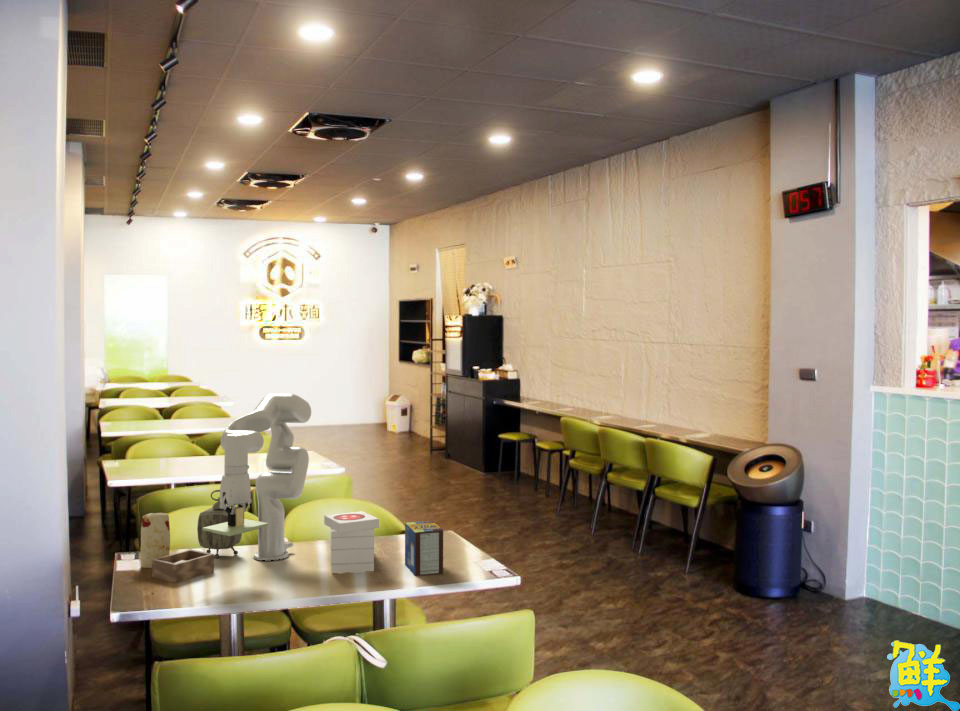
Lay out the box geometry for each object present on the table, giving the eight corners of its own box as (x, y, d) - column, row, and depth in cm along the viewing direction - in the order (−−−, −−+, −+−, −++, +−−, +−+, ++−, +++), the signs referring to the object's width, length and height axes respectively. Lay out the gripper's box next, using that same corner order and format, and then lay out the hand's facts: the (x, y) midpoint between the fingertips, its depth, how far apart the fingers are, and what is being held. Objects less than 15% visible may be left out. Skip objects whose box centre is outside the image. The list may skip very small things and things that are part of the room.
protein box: (432, 562, 303) (432, 520, 303) (443, 573, 289) (443, 529, 289) (404, 564, 300) (404, 522, 300) (414, 576, 286) (414, 531, 285)
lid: (241, 523, 289) (241, 501, 289) (268, 528, 282) (268, 505, 282) (202, 533, 274) (202, 509, 274) (229, 538, 267) (229, 514, 267)
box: (190, 568, 292) (190, 549, 292) (213, 574, 286) (213, 554, 286) (151, 580, 278) (151, 559, 278) (175, 586, 272) (175, 564, 272)
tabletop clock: (242, 554, 312) (242, 488, 312) (232, 560, 303) (232, 493, 303) (205, 552, 314) (205, 487, 313) (195, 559, 305) (195, 491, 304)
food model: (139, 572, 288) (139, 515, 287) (141, 566, 294) (141, 511, 293) (169, 570, 290) (169, 513, 290) (171, 565, 297) (171, 509, 296)
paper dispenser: (374, 551, 318) (374, 504, 318) (379, 573, 289) (380, 522, 288) (323, 553, 315) (324, 506, 314) (324, 575, 285) (324, 523, 285)
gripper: (246, 466, 287) (246, 518, 287) (209, 472, 273) (208, 527, 273) (262, 468, 283) (261, 521, 283) (224, 474, 269) (224, 530, 269)
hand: (235, 524), depth 278 cm, fingers closed on lid, 3 cm apart
